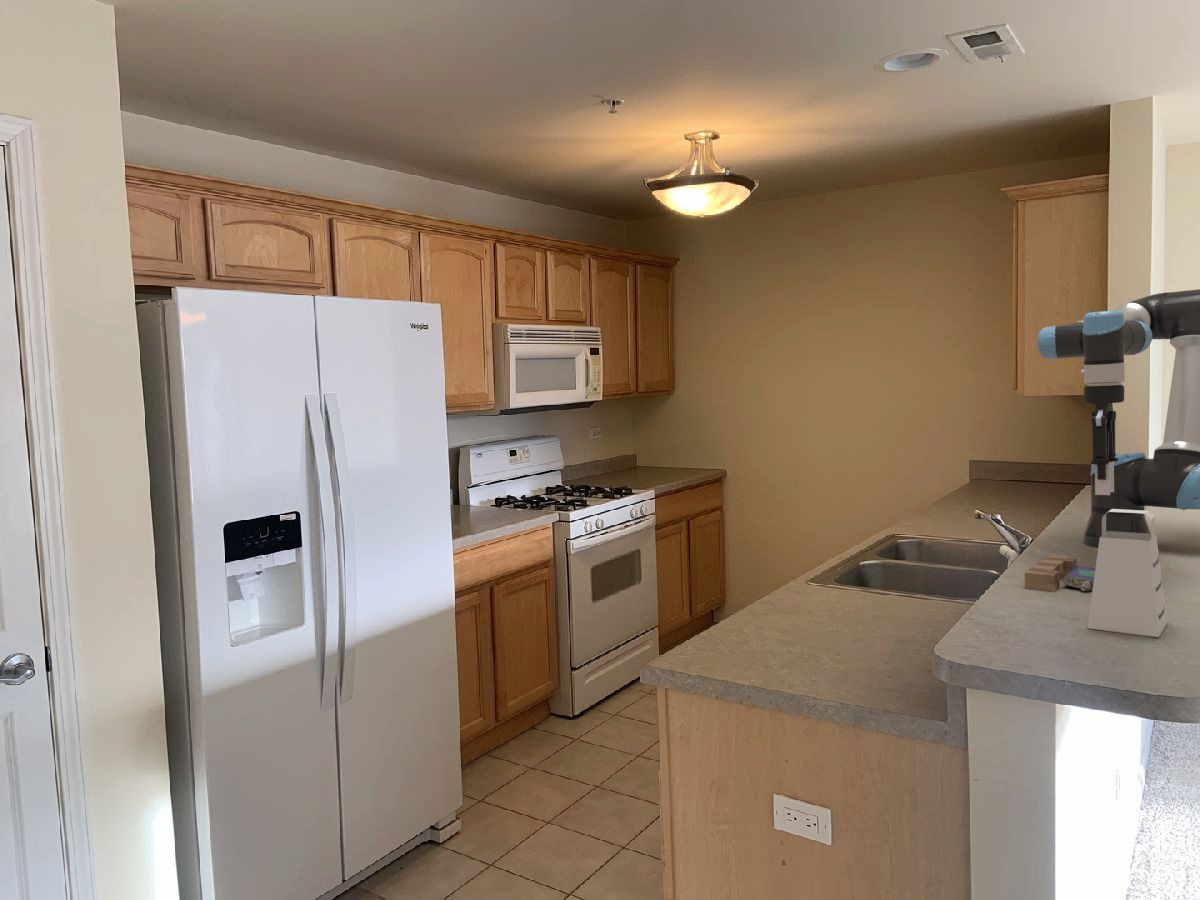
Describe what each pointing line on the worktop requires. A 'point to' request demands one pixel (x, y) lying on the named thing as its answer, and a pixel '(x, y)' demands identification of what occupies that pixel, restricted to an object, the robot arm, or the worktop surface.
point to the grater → (1128, 583)
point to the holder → (1049, 573)
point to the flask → (1080, 578)
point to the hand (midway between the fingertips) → (1104, 492)
